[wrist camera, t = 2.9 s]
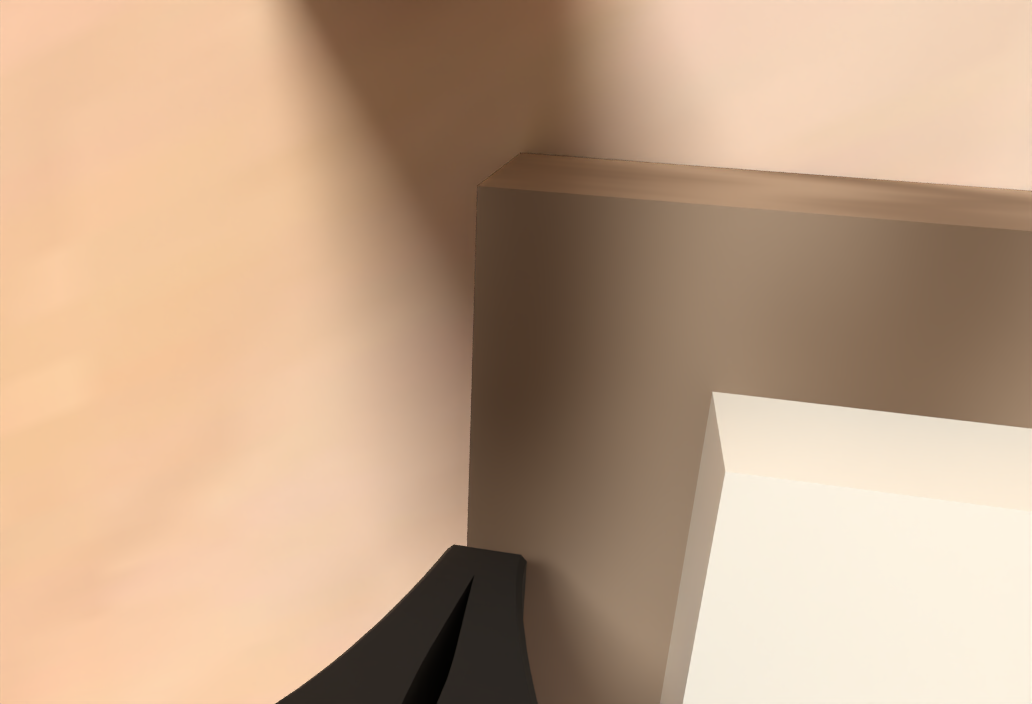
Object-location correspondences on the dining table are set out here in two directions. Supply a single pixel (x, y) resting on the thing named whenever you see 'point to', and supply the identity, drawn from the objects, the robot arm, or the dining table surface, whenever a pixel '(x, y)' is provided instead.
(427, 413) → the dining table surface
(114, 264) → the dining table surface
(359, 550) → the dining table surface
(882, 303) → the brown flat block
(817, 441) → the tile
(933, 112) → the dining table surface
